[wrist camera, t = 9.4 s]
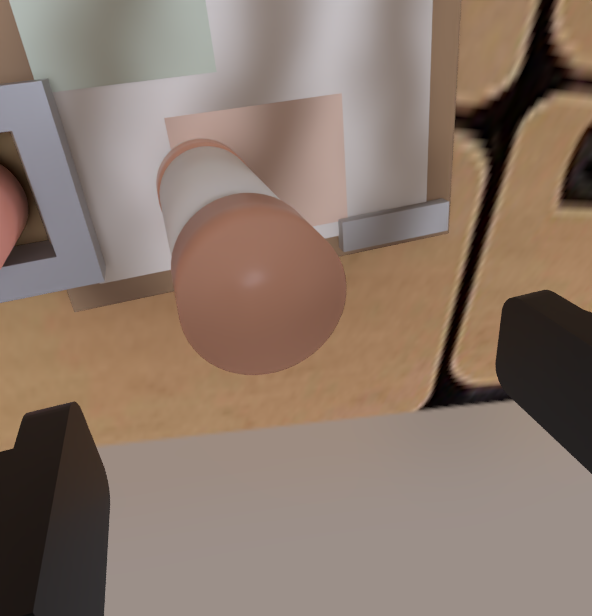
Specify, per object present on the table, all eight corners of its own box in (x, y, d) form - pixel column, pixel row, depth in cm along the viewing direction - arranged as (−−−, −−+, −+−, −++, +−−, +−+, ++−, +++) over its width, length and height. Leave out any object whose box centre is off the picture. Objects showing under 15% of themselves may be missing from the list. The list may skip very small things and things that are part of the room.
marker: (240, 129, 22) (342, 204, 12) (253, 220, 24) (350, 353, 14) (144, 143, 21) (160, 238, 11) (166, 236, 23) (197, 391, 13)
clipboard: (460, -136, 21) (479, -146, 20) (442, 229, 28) (455, 237, 27) (-73, -113, 17) (-88, -124, 16) (75, 306, 24) (73, 318, 23)
